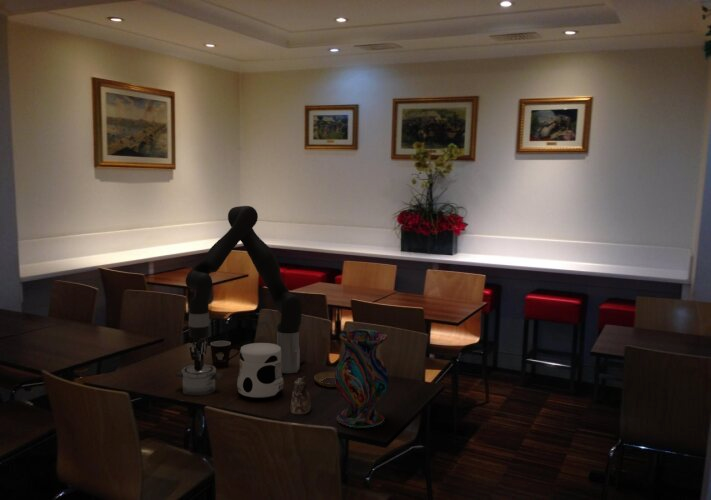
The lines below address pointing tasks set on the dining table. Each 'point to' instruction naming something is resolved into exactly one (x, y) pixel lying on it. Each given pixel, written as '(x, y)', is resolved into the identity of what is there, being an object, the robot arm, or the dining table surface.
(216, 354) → the coffee mug
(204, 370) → the lid
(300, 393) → the figurine
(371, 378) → the vase
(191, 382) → the pot
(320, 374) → the plant saucer
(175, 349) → the dining table surface
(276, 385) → the milk container
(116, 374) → the dining table surface
